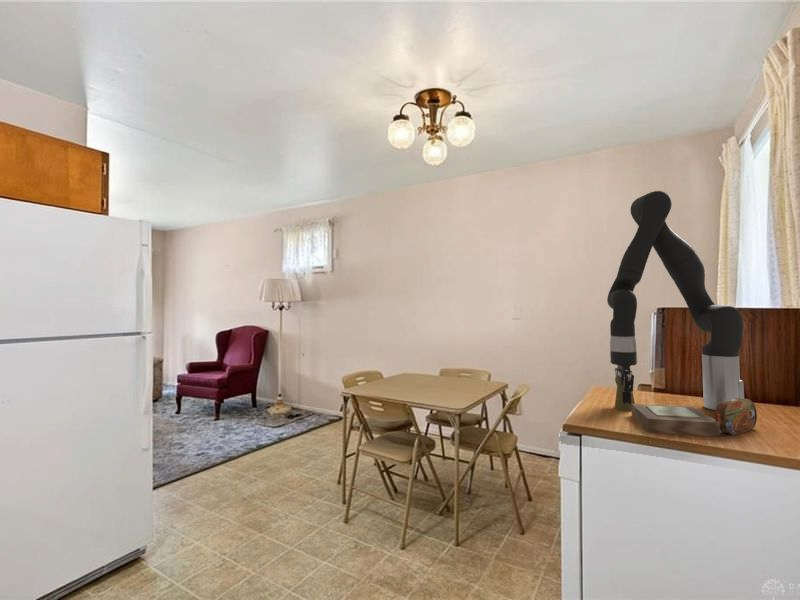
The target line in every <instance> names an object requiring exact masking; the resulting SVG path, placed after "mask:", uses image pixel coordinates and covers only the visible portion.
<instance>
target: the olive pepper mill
mask: <svg viewBox="0 0 800 600" xmlns="http://www.w3.org/2000/svg"><path fill="white" fill-rule="evenodd" d="M614 381H615V383H616V392H615V393H616V394H615V401H614V409H615V410H619V411H625V412H632V404H636V402H635V395H634V391H633V392H630V393H631V404H629V403H628V402H627V403H625V404H624V403H623V394H622V385H621V384H620V378H619V376H618V375H617V376H616V375H615V378H614ZM622 382H624V380H623V379H622ZM626 388H629V385H627V386H626Z"/></svg>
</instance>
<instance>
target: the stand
mask: <svg viewBox="0 0 800 600" xmlns="http://www.w3.org/2000/svg"><path fill="white" fill-rule="evenodd" d="M631 415H632V417H633V418H634V419H635V420H636V421H637V422H638V423H639V424H640V425H641V426H642V427H643V429H645V430H646V431H647V432H648V433H656V434H669V433H670V434H671V435H683V436H686V435H687V436H701V437H702V436H703V437H714V438H715V437H717V438H721V431H720V423H719V422H718V421H716V419H714V418H713V417H711V416H709V415H707V414H706V413H704V412H702V411H701V410H700V409H698V408H696V407H694V406H691V405H690V406H688V405H687V406H686V405H668V404H667V405H666V404H665V405H664V404H645V403H643V404H642V403H635V404H632V411H631Z"/></svg>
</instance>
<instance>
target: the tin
mask: <svg viewBox="0 0 800 600" xmlns="http://www.w3.org/2000/svg"><path fill="white" fill-rule="evenodd" d="M757 411H758V410H757V408H756V405H755V403H754V402H753V400H751V399H750V398H744V399H742V398H735V399H731V400H727V401H723V402H720V403H719V404H718V405H717V407H716V410H714V414H715V420H716V421H718V422H719V423H720V433H721V432H722V433H724V434H729V435H732V436H737V435H740V434H742V433H746V432H749V431H752V430H754V429H755V426H756V425H757V419H758V413H757Z"/></svg>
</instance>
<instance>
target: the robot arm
mask: <svg viewBox="0 0 800 600" xmlns="http://www.w3.org/2000/svg"><path fill="white" fill-rule="evenodd" d="M672 204H673V203H672V198H671V196H670V195H669V194H668V193H666V192H665V191H663V190H654V191H651V192H650V191H649V192H648V193H646V194H644V195H642V196H640V197H638V198H636V199H635V200H633V202H632V203H631V205H630V215H631V217H632V219H633V220H634V222H635V223H636V224H637V226H638V228H637V230H636V232H635V235H634V237H633V239H632V240H631V242H630V243H629V245H628V246H627V248H626V250H625V252H624V254H623V255H622V258H621V261H620V265H619V267H618V271H617V275H616V277H615V279H614V281H613V283H612V286H611V287H610V290H609V291H608V295H607V297H606V298H607V299H606V300H607V302H606V303H607V305H608V306H609V308H611V309H612V311H613V313H612V319H611V321H610V325H609V327H610V329H609V330H610V341H609V349H610V350H609V353H610V355H609V356H610V363H611V364H612V365H616V366H617V367H615V368H614V371H615V372H614V373H615V377H616V376H617V375H618V376H619V378H620V384H621V385H622V394H623V403H624V404H625V403H627V402H628V403H629V404H631V393H630V392H633V393H634V383H635V382H634V381H635V375H634V374H633V371H632V370H631V367H632V366H636V365H638V364H637V363H638V357H637V356H638V354H637V339H636V327H635V321H636V317H637V311H638V310H637V308H638V300H637V299H638V298H637V296H636V294H635V293H634V291H635V287H636V286H637V285H638V284H639V283H640V282H641V279H642V277H643V274H644V272H645V268H646V265H647V263H648V258H649V256H650V253H651V250H652V248H653V249H654V251H655V253H656V254H657V255H658V257H659V259H660V261H661V262H662V265H663V267H664V268H665V269H666V271H667V272H668V275H669V276H670V277H671V279H672V281H673V282H674V283H675V286H676V287H677V289H678V290H679V293H680V295H681V296H682V298H683V300H684V302H685V303H686V306H687V309H688V311H689V313H690V315H691V317H692V319H693V322H694V323H695V325H696V326H697V327H698V329H699V330H701V331H703V332H704V333H708V334H711V335H710V340H709V342H707V343H705V344H704V345H702V346H701V363H702V364H701V365H702V366H701V367H702V389H703V391H702V393H703V396H702V397H703V398H702V399H703V400H702V401H703V407H704V408H706V409H708V410H712V411H715V410H716V407H717V405H718V404H719V403H720V402H723V401H727V400H731V399H735V398H742V399H745V390H744V389H745V388H744V381H743V380H742V379H741V375H740V374H741V373H740V370H741V369H740V350H741V349H742V346H743V333H744V332H743V331H744V330H743V328H744V327H743V325H744V323H743V317H742V314H741V312H740V311H739V309H738V308H737V307H734V306H732V305H727V304H723V305H721V304H720V305H719V304H717V305H716V304H715V303H714V301H713V300H712V298H711V297H710V295H709V294H708V291H707V288H706V284H705V281H706V278H705V277H706V274H705V271H706V270H705V266H704V264H703V262H702V260H701V258H700V257H699V255H698V253H697V252H696V250H695V249H694V248H693V246H691V245H690V244H689V243H688V242H687V241H686V240H685V239H683V237H681V236H680V235H678V234H677V233H676V232H674V230H672V229H671V227H670V226H669V225H668V223H667V218H668V216H669V214H670V212H671V210H672ZM622 379H623V380H624V382H622ZM627 385H629V388H626V386H627Z"/></svg>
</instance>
